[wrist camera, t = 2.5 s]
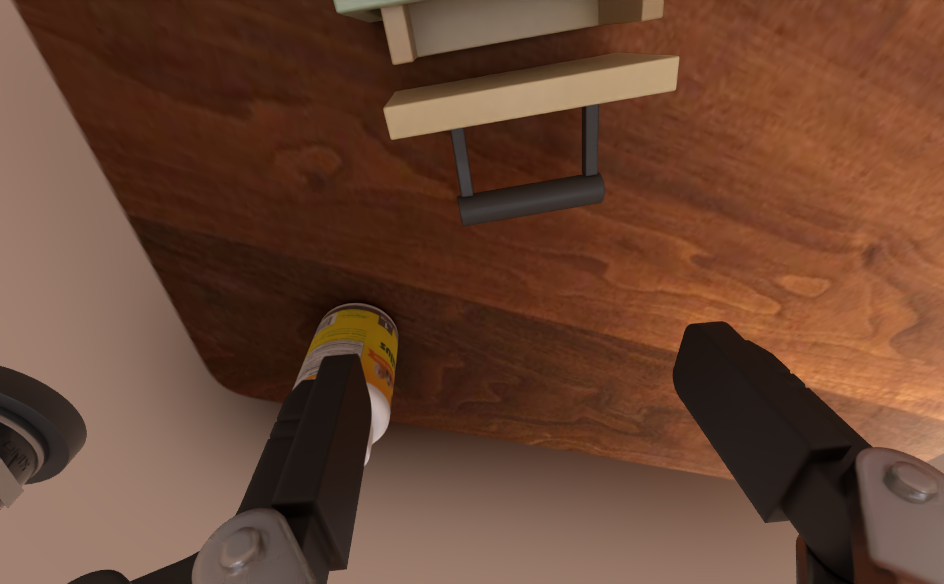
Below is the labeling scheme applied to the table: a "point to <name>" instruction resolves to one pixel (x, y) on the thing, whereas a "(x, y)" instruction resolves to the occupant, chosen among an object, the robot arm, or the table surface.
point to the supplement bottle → (375, 346)
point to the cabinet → (366, 8)
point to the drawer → (518, 87)
